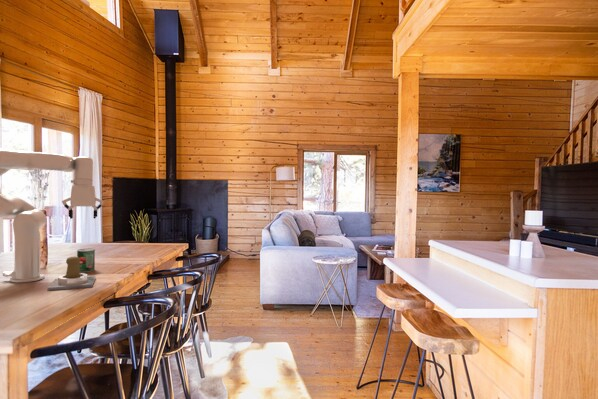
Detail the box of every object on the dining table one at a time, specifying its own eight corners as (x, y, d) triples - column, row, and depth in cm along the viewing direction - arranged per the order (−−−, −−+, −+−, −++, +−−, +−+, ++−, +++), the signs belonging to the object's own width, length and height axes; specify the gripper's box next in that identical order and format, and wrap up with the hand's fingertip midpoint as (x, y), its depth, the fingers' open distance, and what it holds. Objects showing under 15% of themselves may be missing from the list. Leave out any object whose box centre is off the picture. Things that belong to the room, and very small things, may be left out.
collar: (47, 290, 147) (47, 281, 147) (55, 281, 161) (55, 273, 161) (91, 287, 154) (91, 278, 154) (95, 278, 168) (95, 270, 168)
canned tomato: (97, 269, 188) (98, 248, 187) (88, 272, 180) (88, 251, 180) (83, 268, 188) (83, 248, 188) (73, 272, 180) (73, 250, 180)
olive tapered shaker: (83, 280, 161) (84, 255, 160) (75, 283, 155) (75, 258, 154) (70, 279, 161) (70, 255, 160) (61, 283, 155) (61, 258, 154)
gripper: (60, 182, 163) (60, 219, 163) (103, 183, 170) (103, 218, 171) (63, 182, 170) (63, 217, 170) (104, 183, 177) (104, 217, 178)
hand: (83, 218), depth 171 cm, fingers open, 9 cm apart
